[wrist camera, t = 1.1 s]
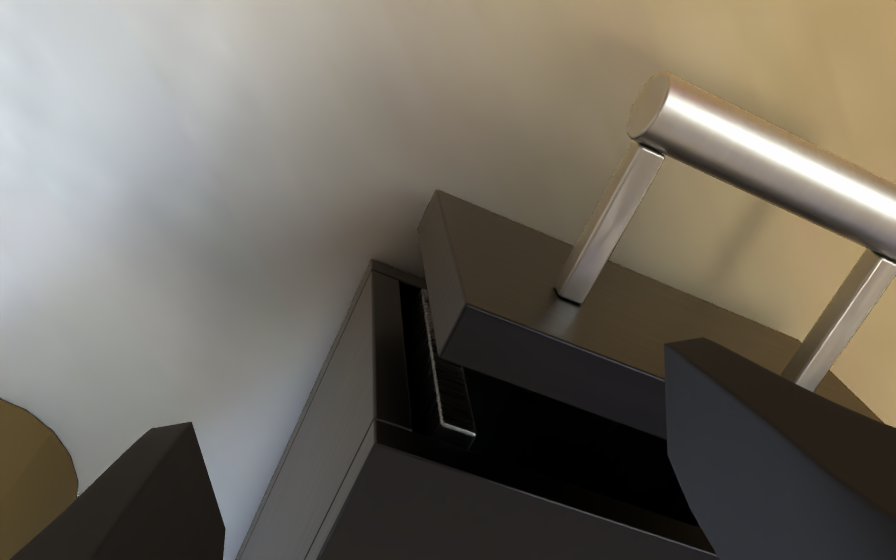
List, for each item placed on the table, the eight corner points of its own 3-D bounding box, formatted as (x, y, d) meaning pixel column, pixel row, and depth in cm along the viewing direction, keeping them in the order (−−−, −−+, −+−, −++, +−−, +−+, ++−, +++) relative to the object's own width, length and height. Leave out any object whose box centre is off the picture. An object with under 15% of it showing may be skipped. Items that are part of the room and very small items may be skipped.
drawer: (523, 0, 19) (599, 39, 13) (902, 187, 22) (1116, 293, 16) (252, 579, 25) (215, 795, 19) (576, 667, 28) (636, 881, 22)
